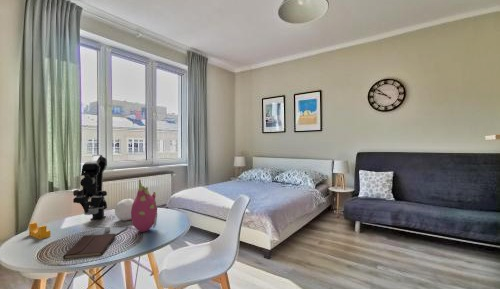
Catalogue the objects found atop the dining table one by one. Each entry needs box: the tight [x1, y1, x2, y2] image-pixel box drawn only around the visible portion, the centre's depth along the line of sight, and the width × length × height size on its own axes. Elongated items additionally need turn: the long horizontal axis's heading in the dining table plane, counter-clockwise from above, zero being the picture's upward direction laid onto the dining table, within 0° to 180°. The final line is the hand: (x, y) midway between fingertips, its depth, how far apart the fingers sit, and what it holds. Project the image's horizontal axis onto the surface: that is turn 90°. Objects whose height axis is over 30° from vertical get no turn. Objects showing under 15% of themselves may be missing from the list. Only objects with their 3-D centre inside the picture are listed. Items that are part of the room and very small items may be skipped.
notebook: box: [62, 234, 117, 260], centre depth 113 cm, size 15×20×2 cm
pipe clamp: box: [28, 221, 51, 240], centre depth 126 cm, size 12×4×6 cm, turn 64°
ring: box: [83, 206, 98, 216], centre depth 135 cm, size 7×7×3 cm
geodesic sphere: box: [114, 198, 135, 222], centre depth 153 cm, size 15×14×14 cm
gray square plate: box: [89, 225, 128, 236], centre depth 130 cm, size 14×14×4 cm
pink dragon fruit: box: [130, 179, 158, 233], centre depth 133 cm, size 18×14×30 cm
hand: (91, 211), depth 135 cm, fingers closed on ring, 7 cm apart
